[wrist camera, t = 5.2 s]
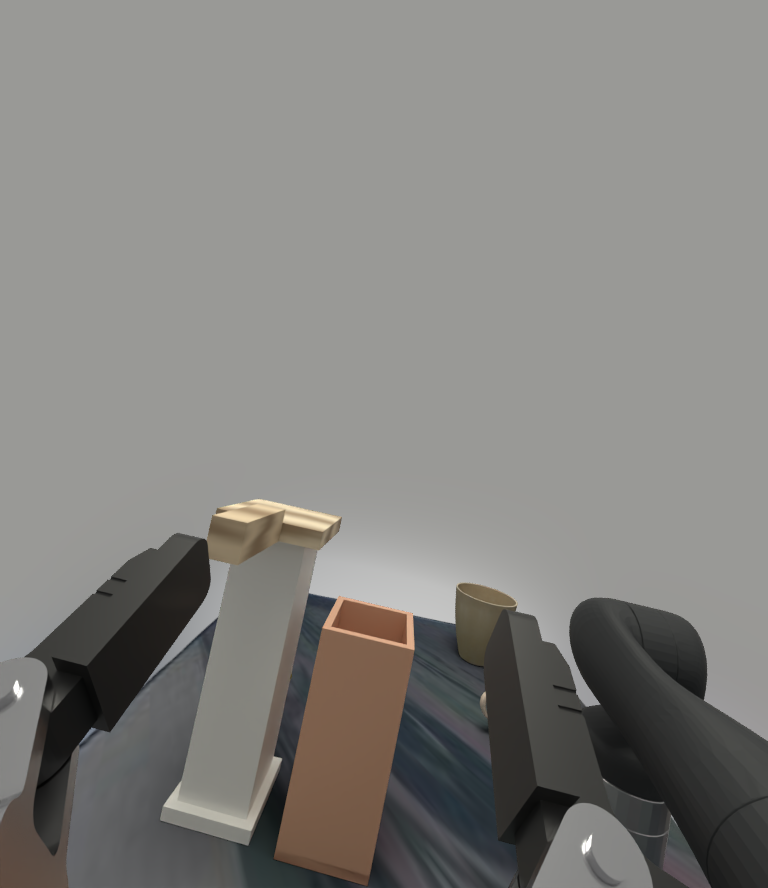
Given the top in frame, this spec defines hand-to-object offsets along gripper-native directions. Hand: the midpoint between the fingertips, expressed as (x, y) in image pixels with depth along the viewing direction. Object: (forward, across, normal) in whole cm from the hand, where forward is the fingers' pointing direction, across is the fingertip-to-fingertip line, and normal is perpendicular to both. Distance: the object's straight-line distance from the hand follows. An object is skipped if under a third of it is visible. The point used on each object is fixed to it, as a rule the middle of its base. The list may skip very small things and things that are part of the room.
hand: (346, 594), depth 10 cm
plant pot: (+56, -27, +77) cm, 99 cm away
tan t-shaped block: (+24, +12, +22) cm, 34 cm away
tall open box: (+12, -1, +52) cm, 53 cm away
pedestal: (+12, +12, +52) cm, 55 cm away
